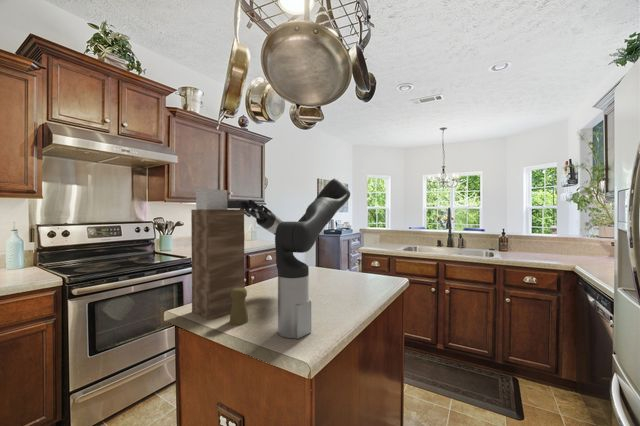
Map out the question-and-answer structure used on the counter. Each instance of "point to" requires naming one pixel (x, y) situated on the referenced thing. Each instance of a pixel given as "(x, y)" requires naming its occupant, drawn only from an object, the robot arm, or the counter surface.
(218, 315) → the tall wooden block
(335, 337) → the counter surface
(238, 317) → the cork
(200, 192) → the meat mallet
